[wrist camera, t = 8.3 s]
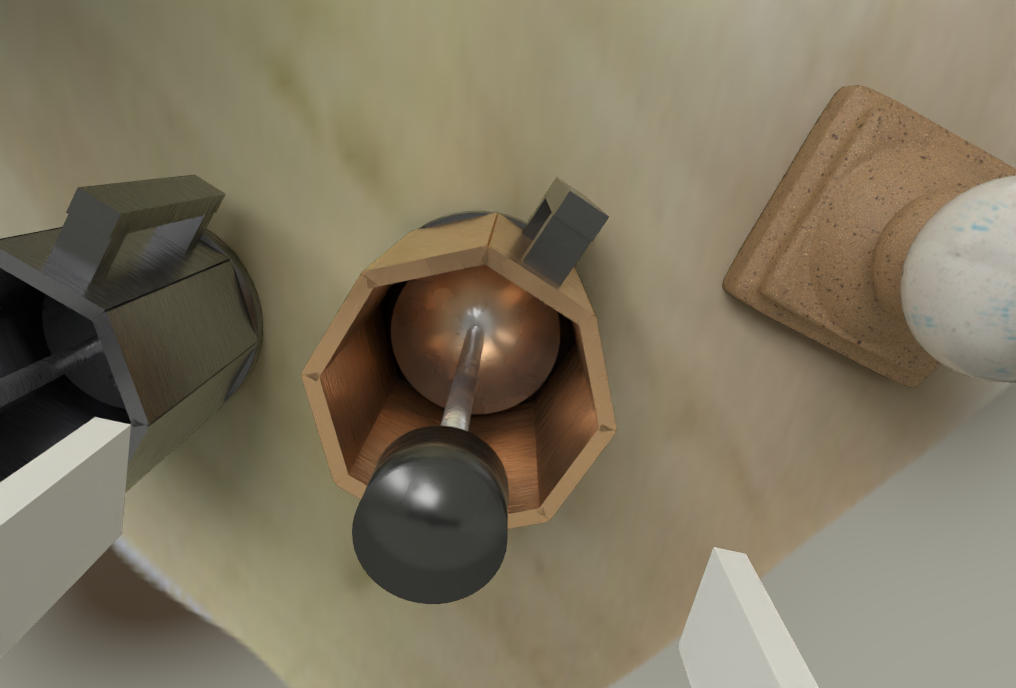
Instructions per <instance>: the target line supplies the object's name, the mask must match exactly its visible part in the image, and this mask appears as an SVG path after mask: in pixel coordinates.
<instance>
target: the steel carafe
mask: <svg viewBox="0 0 1016 688" xmlns="http://www.w3.org/2000/svg"><path fill="white" fill-rule="evenodd" d="M224 196H225V193H223V192H221V191H220V190H218V189H217V188H215V187H213V186H212V185H210V184H208V183H207V182H205V181H204V180H202V179H200V178H199V177H197V176H196V175H188V176H179V177H170V178H160V179H151V180H142V181H133V182H123V183H114V184H105V185H96V186H86V187H78V188H77V191H76V193H75V195H74V197H73V199H72V201H71V203H70V205H69V208H68V210H67V212H66V213H68V214H69V215H68V217H67V219H66V221H65V223H64V225H63V227H60V228H55V229H50V230H44V231H39V232H34V233H29V234H24V235H18V236H13V237H8V238H3V239H0V379H1V378H3V377H5V376H7V375H10V374H12V373H14V372H16V371H18V370H20V369H23V368H25V367H27V366H29V365H31V364H33V363H36V362H38V361H40V360H42V359H44V358H46V357H49V356H51V355H52V354H51V352H50V350H49V348H48V345H47V342H46V339H45V335H44V330H43V322H42V311H43V303H44V298H45V295H46V294H47V295H48V296H50V297H52V298H54V299H55V300H57V301H59V302H60V303H62V304H64V305H66V306H67V307H69V308H71V309H73V310H74V311H76V312H78V313H79V314H81V315H83V316H85V317H86V318H88V319H90V320H92V321H93V324H94V326H95V329H96V332H97V334H98V337H99V340H100V342H101V345H102V347H103V350H104V353H105V355H106V358H107V360H108V363H109V366H110V368H111V371H112V374H113V376H114V379H115V381H116V384H117V387H118V389H119V392H120V395H121V397H122V400H123V402H124V405H125V408H126V409H124V408H119V407H115V406H112V405H109V404H106V403H103V402H101V401H99V400H97V399H95V398H93V397H91V396H90V395H88V394H87V393H85V392H84V391H82V390H81V389H80V388H78V387H77V386H76V385H75V384H74V383H73V382H72V381H71V380H70V379H69V378H68V377H67V376H66V375H65V374H64V375H62V376H60V377H58V378H56V379H54V380H52V381H50V382H49V383H47V384H45V385H43V386H41V387H39V388H37V389H35V390H33V391H31V392H29V393H27V394H25V395H23V396H21V397H19V398H18V399H16V400H14V401H12V402H10V403H8V404H6V405H4V406H2V407H0V482H2V481H3V480H5V479H6V478H7V477H9V476H10V475H12V474H13V473H15V472H16V471H18V470H19V469H20V468H22V467H23V466H25V465H26V464H28V463H29V462H31V461H32V460H34V459H35V458H36V457H38V456H39V455H41V454H42V453H44V452H45V451H47V450H48V449H49V448H51V447H52V446H54V445H55V444H57V443H58V442H60V441H61V440H63V439H64V438H65V437H67V436H68V435H70V434H71V433H73V432H74V431H76V430H77V429H79V428H80V427H81V426H83V425H84V424H86V423H87V422H89V421H90V420H92V419H93V418H94V417H97V418H102V419H107V420H112V421H116V422H121V423H126V424H131V430H130V442H129V454H128V466H127V478H126V490H125V493H126V492H127V491H128V490H129V489H130V488H131V487H132V486H133V485H135V484H136V483H137V482H138V481H139V480H140V479H141V478H142V477H144V476H145V475H146V474H147V473H148V472H149V471H150V470H151V469H152V468H154V467H155V466H156V465H157V464H158V463H159V462H160V461H161V460H162V459H164V458H165V457H166V456H167V455H168V454H169V453H170V452H171V451H173V450H174V449H175V448H176V447H177V446H178V445H179V444H180V443H181V442H183V441H184V440H185V439H186V438H187V437H188V436H189V435H190V434H192V433H193V432H194V431H195V430H196V429H197V428H198V427H199V426H200V425H202V424H203V423H204V422H205V421H206V420H207V419H208V418H209V417H211V416H212V415H213V414H214V413H215V412H216V411H217V410H218V409H219V408H220V407H221V406H222V404H223V402H225V401H226V400H227V399H228V398H229V397H230V396H232V395H233V394H234V393H235V392H236V391H237V390H238V389H239V388H240V387H241V386H242V384H243V383H244V382H245V381H246V379H247V378H248V376H249V375H250V373H251V372H252V370H253V367H254V365H255V363H256V361H257V358H258V355H259V352H260V348H261V342H262V336H263V319H262V310H261V306H260V301H259V297H258V294H257V291H256V289H255V286H254V284H253V281H252V279H251V278H250V276H249V274H248V272H247V270H246V268H245V267H244V266H243V264H242V263H241V261H240V260H239V258H238V257H237V256H236V255H235V254H234V252H233V251H232V250H231V249H230V248H229V247H228V246H227V245H226V244H225V243H224V242H223V241H222V240H220V239H219V238H218V237H217V236H216V235H215V234H213V233H212V232H210V231H209V230H207V229H206V227H207V226H208V224H209V222H210V220H211V218H212V216H213V214H214V213H216V211H217V209H218V208H219V206H220V204H221V202H222V200H223V198H224Z"/></svg>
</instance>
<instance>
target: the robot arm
mask: <svg viewBox="0 0 1016 688" xmlns="http://www.w3.org/2000/svg"><path fill="white" fill-rule="evenodd" d="M130 430H131V424H126V423H121V422H116V421H112V420H107V419H102V418H97V417H94V418H93V419H92V420H90V421H89V422H87V423H86V424H84V425H83V426H81V427H80V428H79V429H77V430H76V431H74V432H73V433H71V434H70V435H68V436H67V437H65V438H64V439H63V440H61V441H60V442H58V443H57V444H55V445H54V446H52V447H51V448H49V449H48V450H47V451H45V452H44V453H42V454H41V455H39V456H38V457H36V458H35V459H34V460H32V461H31V462H29V463H28V464H26V465H25V466H23V467H22V468H20V469H19V470H18V471H16V472H15V473H13V474H12V475H10V476H9V477H7V478H6V479H5V480H3V481H2V482H0V659H1V658H2V657H3V656H4V655H5V654H6V653H7V652H8V651H9V650H10V649H11V648H12V647H13V646H14V645H15V644H16V643H17V642H18V641H19V640H20V639H21V638H22V637H23V636H24V635H25V633H27V632H28V630H29V629H30V628H31V627H32V626H33V625H34V624H35V623H36V622H37V621H38V620H39V619H40V618H41V617H42V616H43V615H44V614H45V613H46V612H47V611H48V610H49V609H50V608H51V607H52V606H53V605H54V604H55V602H56V601H58V599H59V598H60V597H61V596H62V595H63V594H64V593H65V592H66V591H67V590H68V589H69V588H70V587H71V586H72V585H73V584H74V583H75V582H76V581H77V580H78V579H79V578H80V577H81V576H82V575H83V574H84V573H85V571H87V569H88V568H89V567H90V566H91V565H92V564H93V563H94V562H95V561H96V560H97V559H98V558H99V557H100V556H101V555H102V554H103V553H104V552H105V551H106V550H107V549H108V548H109V547H110V546H111V545H112V544H113V543H114V542H115V541H116V539H117V538H118V537H119V536H120V535H121V534H122V525H123V513H124V501H125V490H126V478H127V466H128V454H129V442H130ZM678 648H679V651H680V654H681V657H682V661H683V664H684V667H685V670H686V673H687V676H688V679H689V683H690V686H691V688H819V687H818V685H817V683H816V682H815V680H814V678H813V676H812V674H811V673H810V671H809V669H808V667H807V665H806V663H805V661H804V660H803V658H802V656H801V654H800V652H799V650H798V649H797V647H796V645H795V643H794V641H793V640H792V638H791V636H790V634H789V632H788V630H787V629H786V627H785V625H784V623H783V621H782V620H781V617H780V616H779V614H778V612H777V610H776V608H775V606H774V605H773V603H772V601H771V599H770V597H769V595H768V594H767V592H766V590H765V588H764V586H763V584H762V583H761V581H760V579H759V577H758V575H757V573H756V572H755V570H754V568H753V566H752V564H751V562H750V561H749V559H748V557H747V555H746V554H744V553H739V552H735V551H730V550H725V549H720V548H716V547H713V550H712V553H711V556H710V558H709V561H708V564H707V567H706V569H705V572H704V575H703V578H702V580H701V583H700V586H699V589H698V592H697V594H696V597H695V600H694V603H693V605H692V608H691V611H690V614H689V616H688V619H687V622H686V625H685V628H684V630H683V633H682V636H681V639H680V641H679V644H678Z"/></svg>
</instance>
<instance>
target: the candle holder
mask: <svg viewBox="0 0 1016 688" xmlns="http://www.w3.org/2000/svg"><path fill="white" fill-rule="evenodd" d="M722 287H723V288H724V289H725V290H726V291H727V292H728V293H730V294H731V295H732V296H734V297H735V298H737V299H739V300H740V301H742V302H744V303H745V304H747V305H749V306H751V307H752V308H754V309H756V310H757V311H759V312H761V313H763V314H764V315H766V316H768V317H770V318H772V319H774V320H776V321H778V322H780V323H782V324H784V325H786V326H788V327H790V328H792V329H793V330H795V331H797V332H799V333H801V334H803V335H805V336H807V337H809V338H811V339H813V340H815V341H817V342H819V343H821V344H822V345H824V346H826V347H828V348H830V349H832V350H834V351H836V352H838V353H840V354H842V355H844V356H846V357H848V358H850V359H851V360H853V361H855V362H857V363H859V364H861V365H863V366H865V367H867V368H869V369H871V370H873V371H875V372H877V373H879V374H880V375H882V376H885V377H887V378H889V379H891V380H894V381H896V382H898V383H901V384H903V385H905V386H909V387H913V388H915V387H916V386H917V385H919V384H920V383H921V382H922V380H923V379H924V378H926V377H928V376H929V375H930V374H931V373H932V372H933V371H935V370H936V369H937V368H938V366H939V365H940V364H943V365H945V366H946V367H948V368H949V369H951V370H953V371H956V372H958V373H960V374H963V375H966V376H969V377H973V378H977V379H981V380H985V381H992V382H1008V383H1016V169H1015V168H1013V167H1011V166H1009V165H1008V164H1006V163H1004V162H1002V161H1001V160H999V159H997V158H995V157H994V156H992V155H990V154H988V153H987V152H985V151H983V150H981V149H980V148H978V147H976V146H974V145H972V144H971V143H969V142H967V141H965V140H964V139H962V138H960V137H958V136H957V135H955V134H953V133H951V132H950V131H948V130H946V129H944V128H943V127H941V126H939V125H937V124H936V123H934V122H932V121H930V120H929V119H927V118H925V117H923V116H922V115H920V114H918V113H916V112H915V111H913V110H911V109H909V108H908V107H906V106H904V105H902V104H901V103H899V102H897V101H895V100H893V99H891V98H889V97H887V96H885V95H883V94H881V93H878V92H876V91H874V90H872V89H870V88H868V87H864V86H860V85H856V86H848V87H842V88H841V89H840V90H838V91H837V92H836V93H835V95H834V96H833V98H832V99H831V101H830V102H829V104H828V105H827V107H826V108H825V110H824V111H823V113H822V114H821V116H820V117H819V119H818V120H817V122H816V123H815V125H814V127H813V128H812V130H811V132H810V133H809V135H808V137H807V138H806V140H805V142H804V144H803V145H802V147H801V149H800V150H799V152H798V154H797V155H796V157H795V159H794V160H793V162H792V164H791V165H790V167H789V169H788V170H787V172H786V174H785V175H784V177H783V179H782V180H781V182H780V184H779V185H778V187H777V189H776V190H775V192H774V194H773V195H772V197H771V199H770V200H769V202H768V204H767V205H766V207H765V209H764V210H763V212H762V214H761V215H760V217H759V219H758V220H757V222H756V224H755V225H754V227H753V229H752V230H751V232H750V234H749V235H748V237H747V239H746V240H745V242H744V244H743V245H742V247H741V249H740V250H739V252H738V254H737V256H736V258H735V259H734V261H733V263H732V265H731V267H730V269H729V271H728V273H727V274H726V276H725V278H724V281H723V286H722Z"/></svg>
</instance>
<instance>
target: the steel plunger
mask: <svg viewBox="0 0 1016 688" xmlns="http://www.w3.org/2000/svg"><path fill="white" fill-rule="evenodd" d="M42 322H43V330H44V335H45V339H46V342H47V345H48V348H49V350H50V352H51V354H52V355H51V356H49V357H46V358H44V359H42V360H40V361H38V362H36V363H33V364H31V365H29V366H27V367H25V368H23V369H20V370H18V371H16V372H14V373H12V374H10V375H7V376H5V377H3V378H1V379H0V407H2V406H4V405H6V404H8V403H10V402H12V401H14V400H16V399H18V398H19V397H21V396H23V395H25V394H27V393H29V392H31V391H33V390H35V389H37V388H39V387H41V386H43V385H45V384H47V383H49V382H50V381H52V380H54V379H56V378H58V377H60V376H62V375H64V374H65V375H66V376H67V377H68V378H69V379H70V380H71V381H72V382H73V383H74V384H75V385H76V386H77V387H78V388H80V389H81V390H82V391H84V392H85V393H87V394H88V395H90V396H91V397H93V398H95V399H97V400H99V401H101V402H103V403H106V404H109V405H112V406H115V407H119V408H124V409H126V408H125V405H124V402H123V400H122V397H121V395H120V392H119V389H118V387H117V384H116V381H115V379H114V376H113V374H112V371H111V368H110V366H109V363H108V360H107V358H106V355H105V353H104V350H103V347H102V345H101V342H100V340H99V337H98V334H97V332H96V329H95V326H94V324H93V321H92V320H90V319H88V318H86V317H85V316H83V315H81V314H79V313H78V312H76V311H74V310H73V309H71V308H69V307H67V306H66V305H64V304H62V303H60V302H59V301H57V300H55V299H54V298H52V297H50V296H48V295H47V294H46V295H45V298H44V303H43V311H42Z"/></svg>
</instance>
